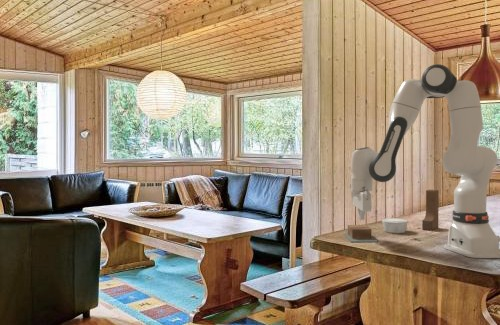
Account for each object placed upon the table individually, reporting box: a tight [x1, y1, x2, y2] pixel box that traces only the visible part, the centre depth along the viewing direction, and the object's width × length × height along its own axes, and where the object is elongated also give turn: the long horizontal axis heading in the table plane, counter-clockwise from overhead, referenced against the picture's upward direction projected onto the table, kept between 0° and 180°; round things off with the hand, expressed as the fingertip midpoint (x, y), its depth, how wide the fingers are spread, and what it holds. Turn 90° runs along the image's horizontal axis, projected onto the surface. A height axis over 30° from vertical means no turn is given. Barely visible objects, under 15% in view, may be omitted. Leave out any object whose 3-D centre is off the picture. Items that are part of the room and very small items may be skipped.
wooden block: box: [421, 189, 440, 231], centre depth 210 cm, size 9×4×18 cm, turn 139°
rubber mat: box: [343, 232, 379, 243], centre depth 192 cm, size 16×11×1 cm
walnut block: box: [347, 224, 372, 239], centre depth 194 cm, size 4×8×10 cm
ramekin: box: [381, 217, 409, 234], centre depth 206 cm, size 11×11×5 cm
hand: (361, 219), depth 189 cm, fingers closed
